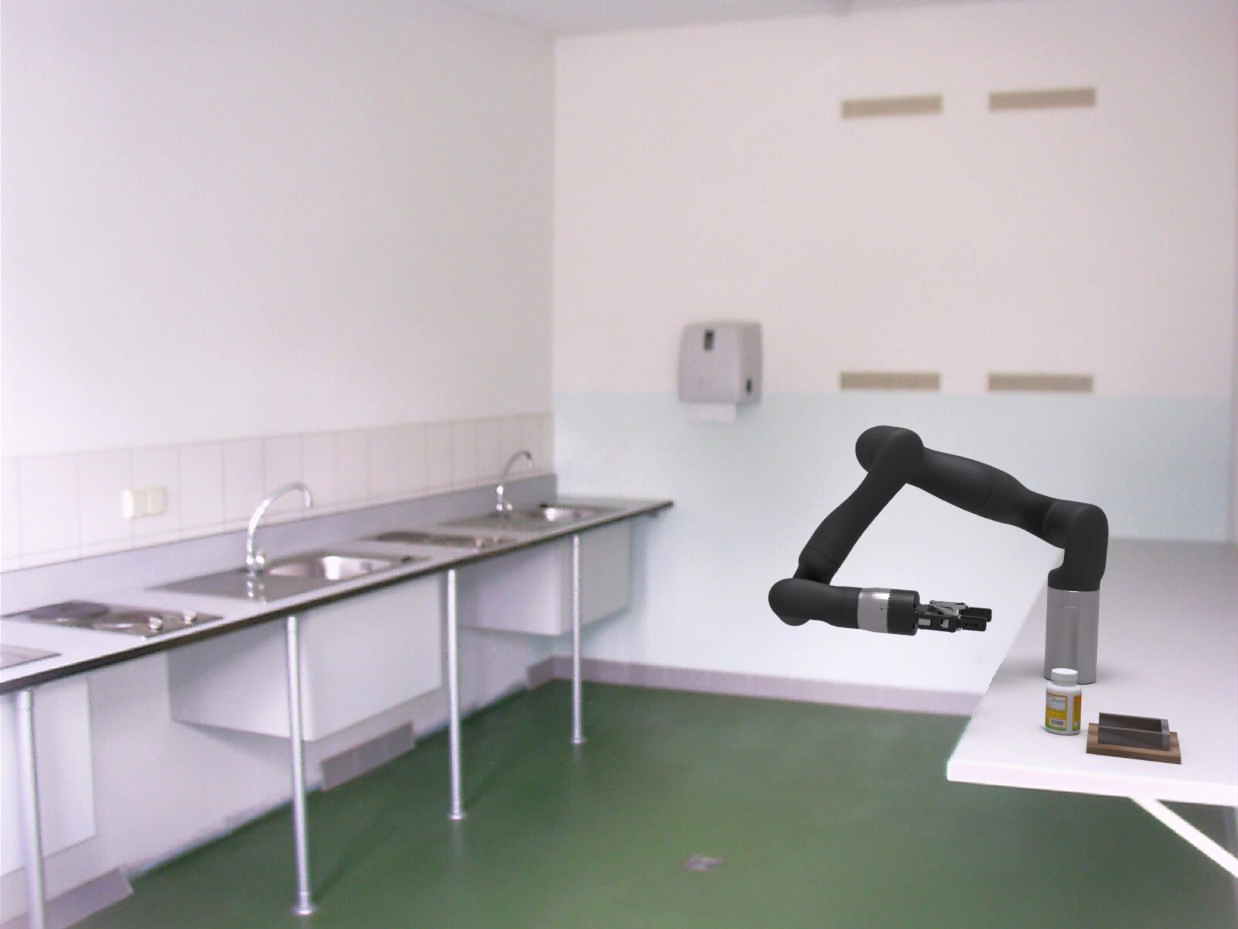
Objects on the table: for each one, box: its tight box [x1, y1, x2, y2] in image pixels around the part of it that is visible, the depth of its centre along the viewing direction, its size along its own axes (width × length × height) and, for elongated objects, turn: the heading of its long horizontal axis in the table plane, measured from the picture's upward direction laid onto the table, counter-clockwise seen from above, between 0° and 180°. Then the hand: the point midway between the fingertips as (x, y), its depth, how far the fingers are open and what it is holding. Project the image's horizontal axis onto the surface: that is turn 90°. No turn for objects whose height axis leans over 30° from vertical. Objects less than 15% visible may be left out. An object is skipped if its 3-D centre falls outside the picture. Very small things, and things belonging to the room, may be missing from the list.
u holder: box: [1086, 711, 1182, 765], centre depth 194 cm, size 14×13×4 cm
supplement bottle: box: [1044, 668, 1083, 736], centre depth 202 cm, size 5×5×10 cm
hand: (989, 620), depth 205 cm, fingers open, 8 cm apart
